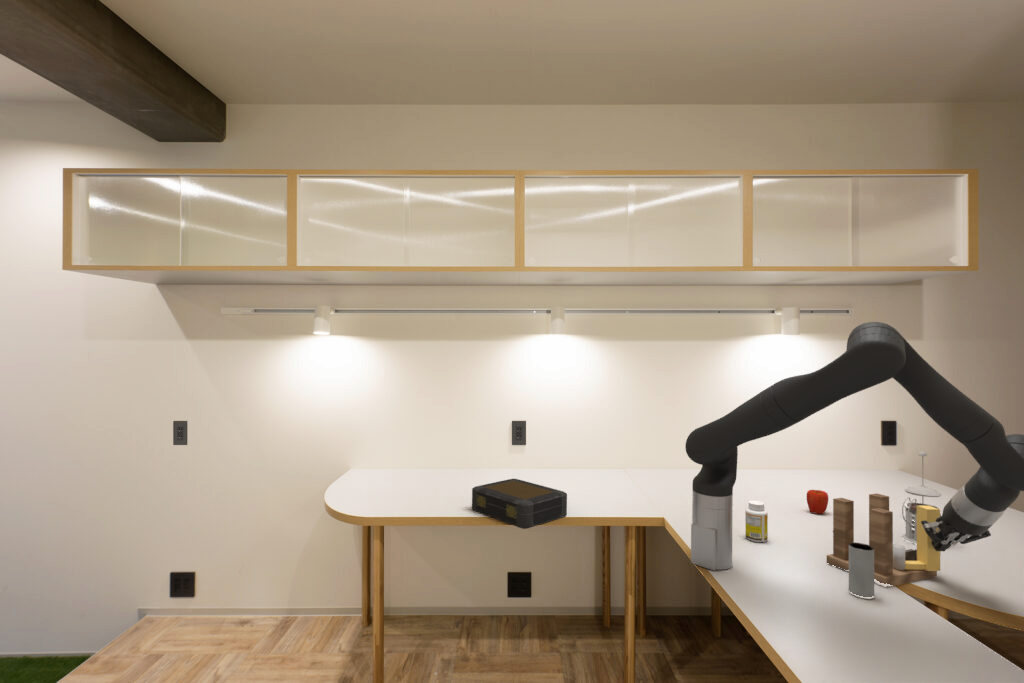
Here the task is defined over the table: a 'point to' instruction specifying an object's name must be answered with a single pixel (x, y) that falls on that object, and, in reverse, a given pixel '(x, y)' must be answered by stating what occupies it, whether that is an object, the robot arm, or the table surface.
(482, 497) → the black carrying case
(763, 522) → the supplement bottle
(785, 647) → the table surface
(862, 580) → the grey tube
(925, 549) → the hinged leg
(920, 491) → the french press
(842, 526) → the wooden pillar stand
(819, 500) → the apple
